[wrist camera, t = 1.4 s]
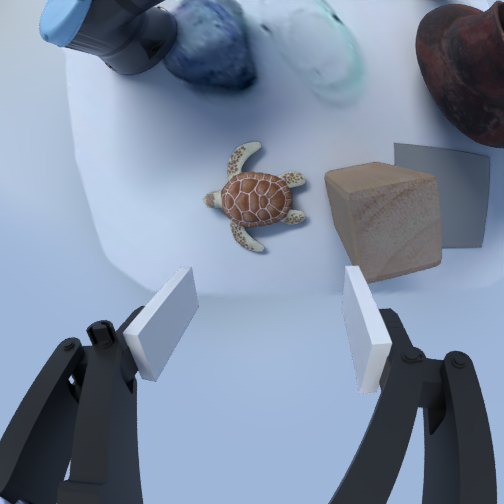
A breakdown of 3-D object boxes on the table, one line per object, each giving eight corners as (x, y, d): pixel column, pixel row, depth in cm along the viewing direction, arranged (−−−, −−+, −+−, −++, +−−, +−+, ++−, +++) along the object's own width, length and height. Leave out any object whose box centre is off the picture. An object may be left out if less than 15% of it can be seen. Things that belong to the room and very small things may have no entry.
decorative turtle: (203, 145, 43) (192, 145, 38) (305, 141, 40) (306, 140, 35) (211, 247, 49) (202, 258, 44) (304, 249, 47) (305, 260, 42)
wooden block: (390, 218, 42) (444, 267, 23) (335, 230, 44) (360, 289, 26) (380, 160, 39) (439, 172, 20) (322, 171, 41) (344, 190, 23)
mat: (394, 143, 37) (395, 143, 37) (489, 157, 33) (490, 157, 33) (390, 247, 43) (391, 248, 43) (480, 246, 40) (481, 247, 40)
